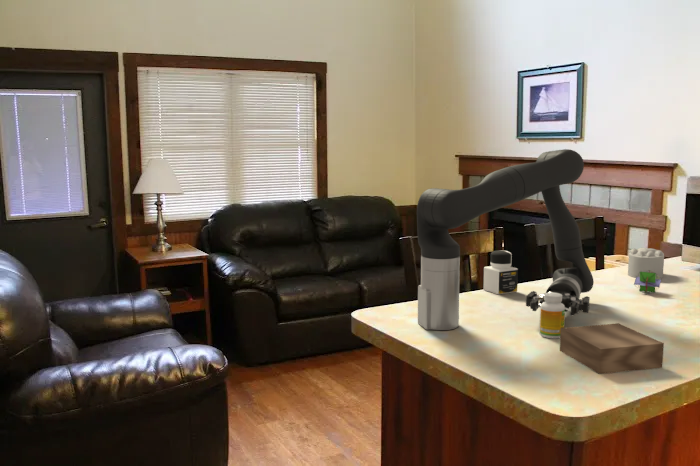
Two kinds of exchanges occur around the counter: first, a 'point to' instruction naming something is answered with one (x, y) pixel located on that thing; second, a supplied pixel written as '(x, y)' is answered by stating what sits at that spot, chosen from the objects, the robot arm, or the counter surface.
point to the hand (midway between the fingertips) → (553, 309)
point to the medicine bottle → (500, 274)
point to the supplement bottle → (552, 315)
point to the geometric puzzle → (648, 281)
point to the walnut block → (611, 348)
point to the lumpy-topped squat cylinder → (645, 261)
